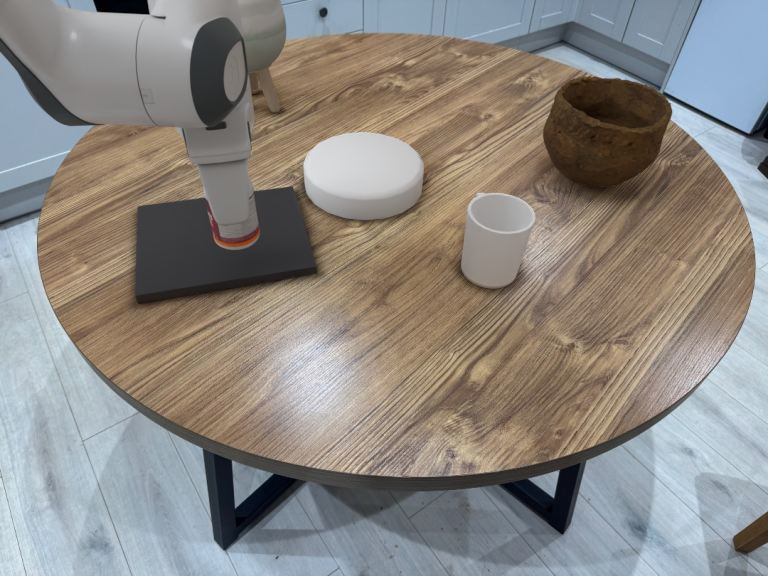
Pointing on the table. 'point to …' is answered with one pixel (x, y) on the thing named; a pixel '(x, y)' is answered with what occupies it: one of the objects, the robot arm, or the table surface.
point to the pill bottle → (237, 237)
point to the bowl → (605, 130)
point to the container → (363, 176)
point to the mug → (495, 238)
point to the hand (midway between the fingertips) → (231, 209)
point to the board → (217, 248)
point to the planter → (263, 43)
